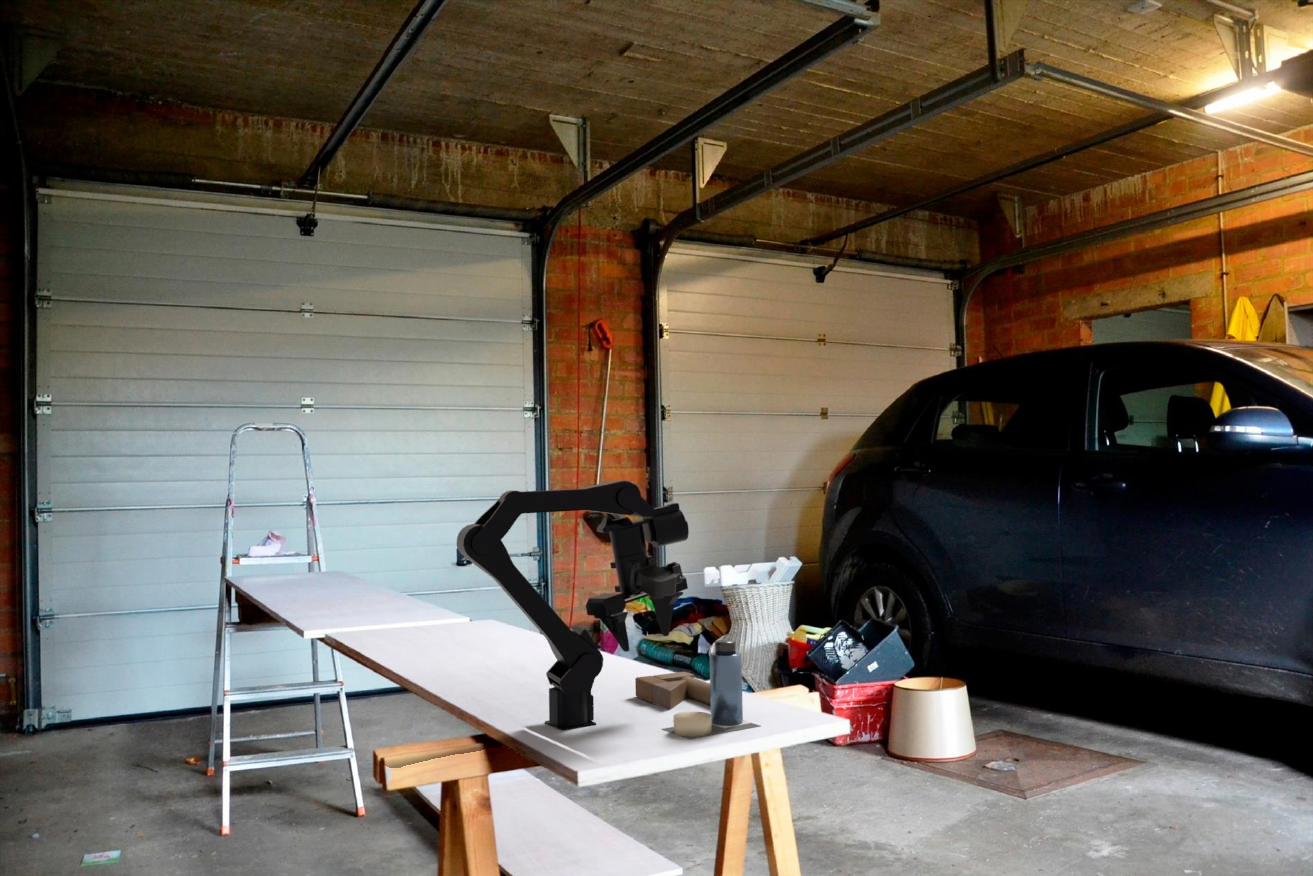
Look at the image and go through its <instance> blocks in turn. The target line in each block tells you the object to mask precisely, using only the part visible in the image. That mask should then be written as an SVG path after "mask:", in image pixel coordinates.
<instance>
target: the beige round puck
mask: <svg viewBox="0 0 1313 876" xmlns="http://www.w3.org/2000/svg"><path fill="white" fill-rule="evenodd" d="M673 727H674V733H675V734H674V735H676V734H677V735H676V736H678V735H680V736H679V737H681V736H690V737H695V736H704V735H708V734H710V733H712V716H711V713H709V712H704V711H681V712H677V713H675V714H674V715H673Z"/></svg>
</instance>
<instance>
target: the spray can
mask: <svg viewBox="0 0 1313 876" xmlns="http://www.w3.org/2000/svg"><path fill="white" fill-rule="evenodd" d="M736 647H737V643H736V640H732V639H724V640H723V639H721V640H715V641H714V652H710V653H709V682H710V696H711V705H710V714H711V716H712V724H715V725H721V726H733V725H739V724H742V723H743V720H744V715H743V711H744V709H743V708H744V707H743V704H744V703H743V671H742V670H743V669H742V668H743V667H742V665H743V664H742V653H741V652H738V651H737V648H736Z"/></svg>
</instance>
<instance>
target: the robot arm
mask: <svg viewBox="0 0 1313 876" xmlns="http://www.w3.org/2000/svg"><path fill="white" fill-rule="evenodd" d="M575 511H576V512H578V511H589V512H597V513H604V514H610V515H622V516H625V517H621V518H617V519H616V518H615V519H612V518H610V517H609V516H604V517H603V518H602V521H601V523H600V524H599V525H598V526H597V527H596V532H598V533H609V536H610V541H611V547H612V553H613V561H612V562H610V568H611V569H616V570H615V571H616V576H617V580H618V582H617V583H618V584H617V585H615V586H614V591H615V593H608V592H607V593H606V592H605V593H604V592H603V593H600V594H598V595H594V596H591V597H588V599H587V600H586V603H585V608H586V615H587V616H592V617H593V618H594V619H599V620H600V622H601V623H602V624H603V625H604V626H605V627H606V629H608V631H609V633H611V635H612V637H613V638H614V639H615V641H616V642H617V644H618V646H619V647H620V649H622V651H623V652H625V653H626V652H629V651H630V644H629V643H630V642H629V641H630V640H629V636H628V630H627V626H626V625H627V624H626V619H627V617H628V615H629V611H624V610H625V608H626V606H627V604H629V603H632V602H634V601H638V600H640V599H643V598H646V597H649V596H650V597H649V598H650V600H651V604H652V607H653V610H654V613H655V616H656V620H657V624H658V626H659V628H660V632H661V634H662V636H663V637H668V636H669V635H670V631H671V625H672V624H671V623H672V619H673V618H672V617H673V611H674V607H675V603H676V602H677V601H678V599H680V598H681V596H683V594H684V591H685V590H687V589H689V586H688V580H687V577H686V576H685V575H684V574H683V571H682V570H683V569H682V566H681V564H680V563H678V562H677V561H676V562H675V561H673V562H670V563H667V564H666V565H665V566H664V565H663V566H657V564H656V560H655V559H656V558H654V556H653V555H648V549H647V544H650V543H651V545H652V547H654V548H660V547H664V546H668V545H672V544H677V543H681V542H686V541H687V540H688V539H689V532H690V531H689V529H690V528H689V524H688V521H687V520H686V517H685V515H684V513H683V512H682V510H681V509H680V504H679V503H678V502H671V503H667V504H665V505H663V506H659V507H653V506H652V505H651V504H650V503H649V502H647V500H646V499H645V498H643V496H642V494H641V490H640V488H639V487H638V486H637V484H635V482H633V481H631V480H611V481H607V482H601V483H599V484H594V485H590V486H587V487H583V488H573V489H551V490H550V489H549V490H548V489H547V490H529V491H528V490H527V491H519V490H506V491H505V492H503V493H501V495H500V496H499V498H498V499H497V500H496V502H494V503H493V505H492V506H490V507H489V508H488V509H487V510H486V511H485V512H484V513H483V514H482V515H480V517H478V519H477V520H476V521H475V522H474V523H471V524H468V525H466V526H464V527H462V528H461V529H460V531H458V534H457V536H456V537H457V538H456V547H457V549H458V552H459V553H460V554H461V555H462V556H463V557H464V558H465V559H467V560H468V561H469V562H470V563H472V564H473V565H475V566H476V567H477V568H479V569H480V570H481V571H483V572H484V573H486V574H487V575H488V576H490V577H491V578H492V579H493V580H494V581H495V582H496V584H498V585H499V587H500V588H501V589H502V590H503V591H504V592H505V593H506V595H507V596H508V597H509V598H510V600H512V601H513V602H514V604H515V605H516V606H517V607H518V608H519V609H520V610H521V612H522V613H523V614H524V615H525V616H526V617H527V618H528V620H529V621H530V622H531V624H533V625H534V627H536V629H537V630H538V631H539V632H540V633H541V634H542V635H543V636H544V637H545V639H546V641H547V643H548V645H549V647H550V649H551V651H552V653H553V655H554V657H555V658H556V661H555V662H554V663H553V665H552V666H551V667H550V668H549V669H548V670H547V671H546V673H545V675H546V677H547V680H548V682H549V684H550V685H551V686H553V687H551V688H548V716H549V717H548V720H545V721H544V724H545V725H548V726H550V727H552V728H555V729H556V730H559V731H568V730H575V729H580V728H581V729H582V728H587V727H592V726H597V722H595V721H594V719H595V718H594V708H595V707H594V704H595V703H594V695H593V694H592V689H593V686H594V682H595V679H596V677H597V676H599V675H600V673H601V672H602V669H603V666H604V656H603V654H602V652H601V651H600V650H599V649H602V646H601V645H599V644H597V643H596V642H595V641H594V640H593V638H592V636H591V635H590V633H589V632H588V630H587V629H586V628H583V627H581V626H579V625H576V624H574V626H573V627H572V628H570V627H569V625H568V624H566V623H565V622H564V621H563V619H562V618H561V617H560V616H559V615H558V614H557V612H556V611H555V610H554V609H553V608H552V607H551V605H550V604H549V603H548V602H547V601H546V600H545V599H544V597H543V596H542V595H541V594H540V593H539V592H538V591H537V589H536V588H535V587H534V586H533V585H532V584H531V583H530V582H529V580H528V579H527V578H526V577H525V576H524V575H523V573H522V572H521V571H520V570H519V569H518V568H517V567H516V565H515V564H514V562H513V560H512V558H511V556H510V554H509V551H508V549H507V547H506V546H505V544H504V543H503V541H502V540H503V538H504V537H505V536H506V534H508V532H509V531H510V530H511V528H512V527H513V525H515V523H516V521H517V519H518V518H519V517H520V516H522V515H523V514H537V513H540V514H541V513H542V514H543V513H554V512H555V513H556V512H559V513H560V512H575ZM628 516H629V517H628ZM630 517H641V519H637V520H633V521H632V520H631V518H630Z"/></svg>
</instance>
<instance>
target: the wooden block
mask: <svg viewBox="0 0 1313 876" xmlns="http://www.w3.org/2000/svg"><path fill="white" fill-rule="evenodd" d="M635 697H637V698H640V699H642V700H644V701H646V702H648V703H651V704H653V705H656V706H657V705H659V706H661V707H663V708H666V709H668V710H672V709H674V708H675V707H677V706H678V705H680V704H681V703H683V702H684V701H687V699H688V698H690V699H693V700H696V701H698V702H701V703H703V704H706V705H709V706H711V696H710V683H709V682H707V681H704V680H701V679H698V678H695V674H694V673H690V672H688V671H681V672H680V671H678V672H673V673H672V672H671V673H663V674H655V675H647V676H640V677H639V676H638V677H636V678H635Z"/></svg>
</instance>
